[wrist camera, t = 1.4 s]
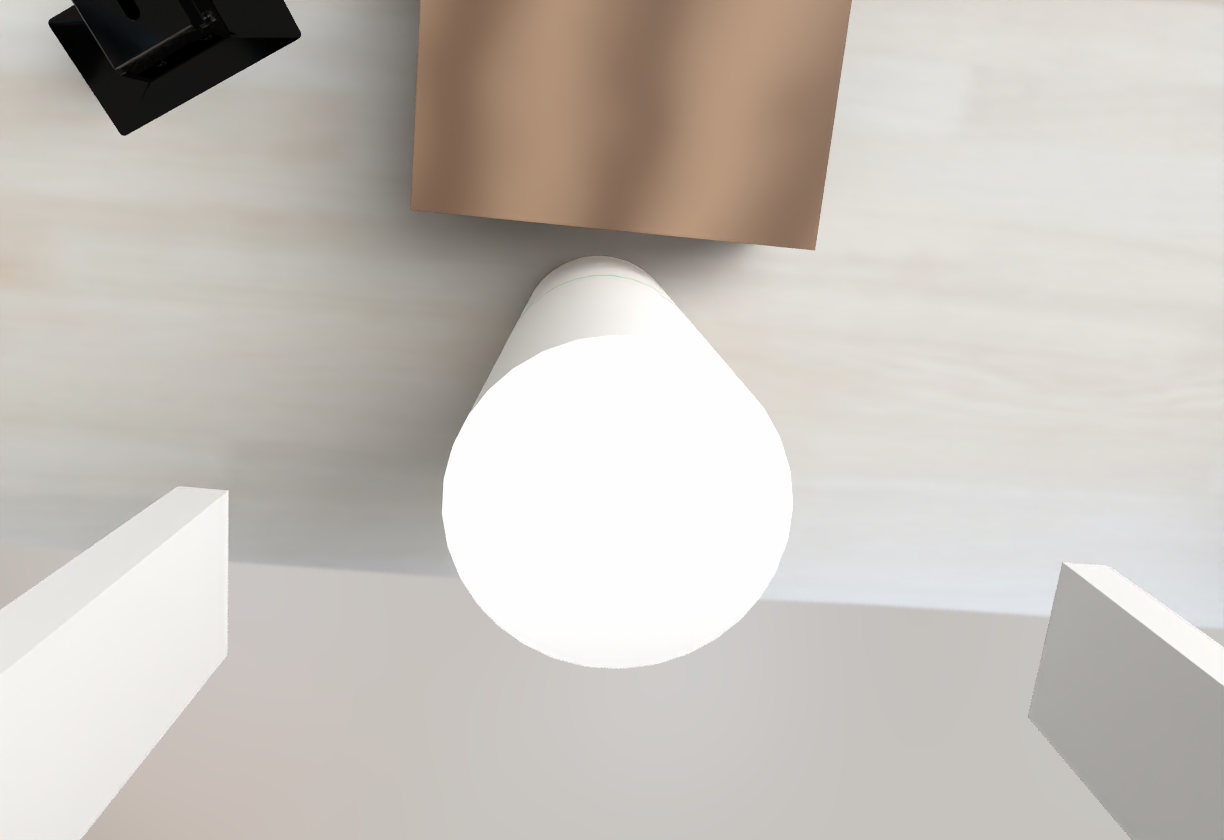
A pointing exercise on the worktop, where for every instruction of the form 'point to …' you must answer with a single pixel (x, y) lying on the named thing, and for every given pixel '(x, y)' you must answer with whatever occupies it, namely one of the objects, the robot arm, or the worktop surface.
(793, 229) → the brown flat-topped stand
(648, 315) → the cylindrical container
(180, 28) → the black box
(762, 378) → the worktop surface
